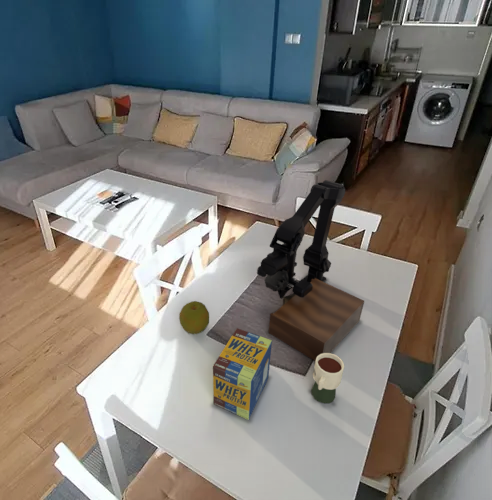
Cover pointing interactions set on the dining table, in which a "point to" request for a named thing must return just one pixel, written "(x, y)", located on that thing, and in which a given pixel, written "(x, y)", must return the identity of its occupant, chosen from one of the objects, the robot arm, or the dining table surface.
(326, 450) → the dining table surface
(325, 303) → the walnut wood chunk
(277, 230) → the robot arm
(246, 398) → the protein box
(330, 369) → the character mug
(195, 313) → the apple
